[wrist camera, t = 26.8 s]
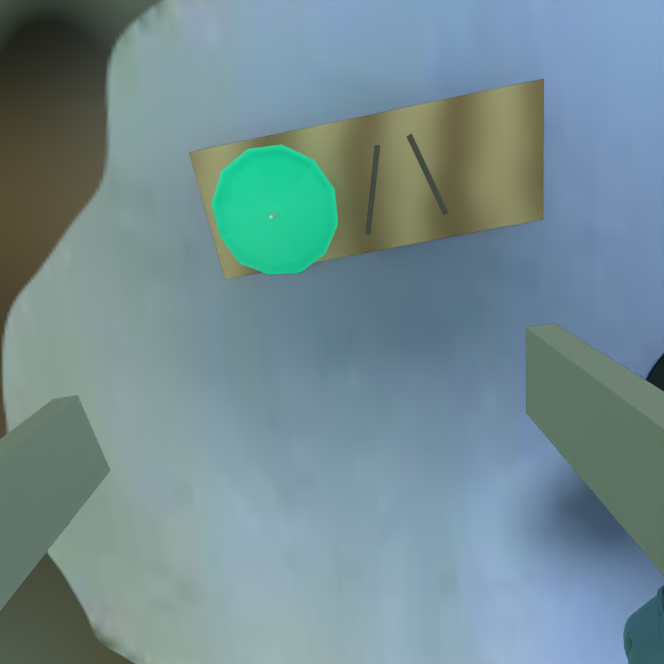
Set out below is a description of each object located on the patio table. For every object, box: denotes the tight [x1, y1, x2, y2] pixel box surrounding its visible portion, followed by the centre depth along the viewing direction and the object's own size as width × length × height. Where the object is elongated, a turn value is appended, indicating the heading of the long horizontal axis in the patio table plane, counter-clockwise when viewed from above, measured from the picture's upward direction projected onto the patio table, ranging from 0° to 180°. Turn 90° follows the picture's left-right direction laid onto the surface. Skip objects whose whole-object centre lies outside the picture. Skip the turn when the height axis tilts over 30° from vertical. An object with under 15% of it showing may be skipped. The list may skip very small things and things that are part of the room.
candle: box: [211, 144, 338, 275], centre depth 23 cm, size 6×6×12 cm
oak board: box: [189, 79, 544, 279], centre depth 29 cm, size 24×9×2 cm, turn 101°
